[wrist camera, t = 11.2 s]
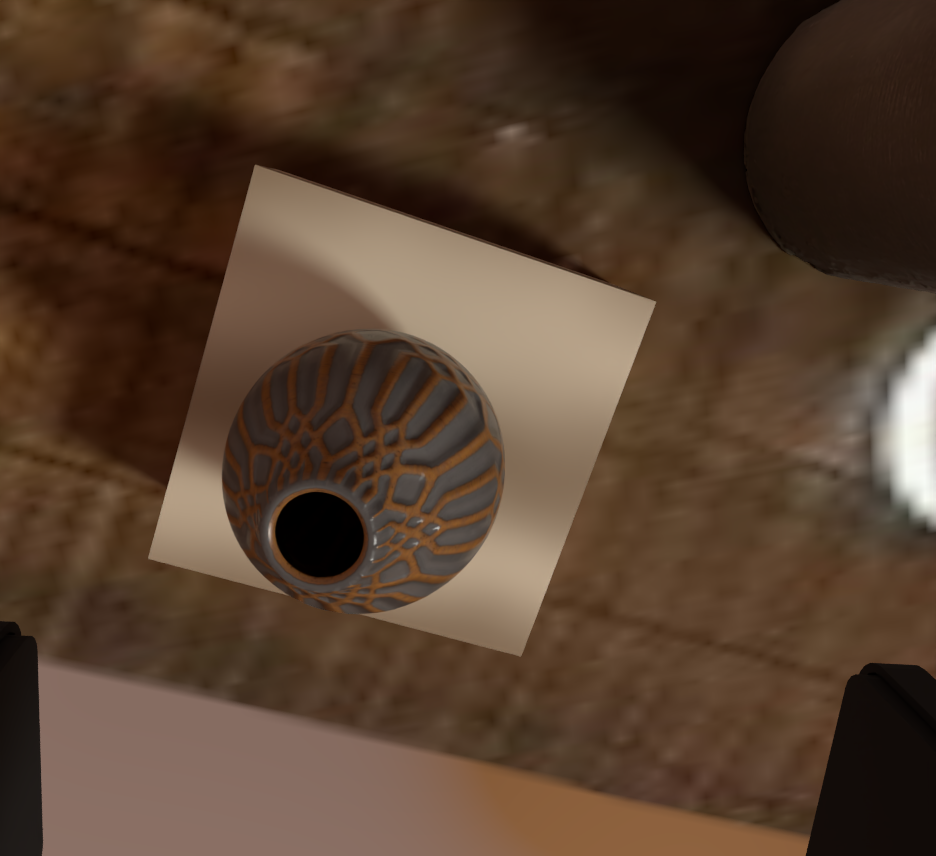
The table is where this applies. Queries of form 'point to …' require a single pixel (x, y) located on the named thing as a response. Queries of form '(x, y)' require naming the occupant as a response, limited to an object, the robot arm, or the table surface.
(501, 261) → the maple block
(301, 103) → the table surface
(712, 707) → the table surface
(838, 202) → the pillar candle
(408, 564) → the vase
